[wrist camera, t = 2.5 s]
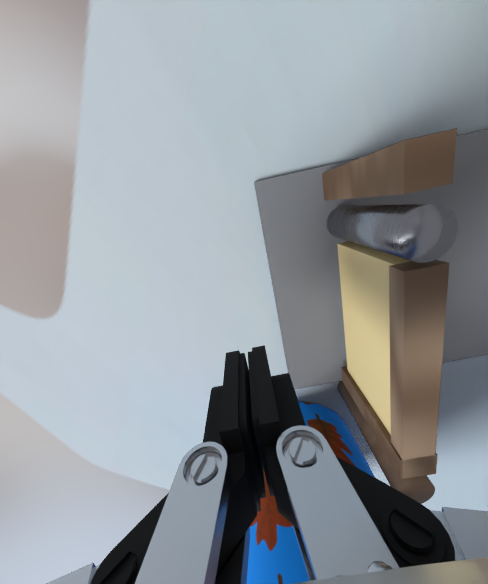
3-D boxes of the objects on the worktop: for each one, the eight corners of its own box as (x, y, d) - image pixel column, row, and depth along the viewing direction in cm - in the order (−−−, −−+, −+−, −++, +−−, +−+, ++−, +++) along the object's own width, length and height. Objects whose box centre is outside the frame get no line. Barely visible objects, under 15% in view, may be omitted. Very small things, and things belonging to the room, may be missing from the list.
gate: (325, 209, 15) (399, 210, 8) (357, 202, 15) (460, 198, 8) (341, 381, 20) (398, 479, 13) (365, 376, 20) (437, 473, 12)
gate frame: (254, 182, 16) (269, 156, 8) (563, 111, 15) (948, -1, 7) (294, 404, 22) (325, 518, 14) (514, 365, 21) (686, 463, 13)
